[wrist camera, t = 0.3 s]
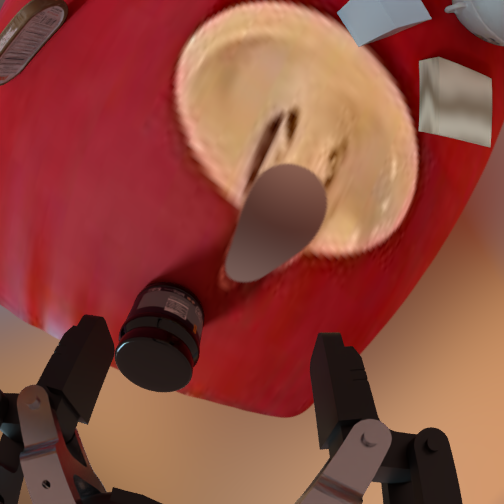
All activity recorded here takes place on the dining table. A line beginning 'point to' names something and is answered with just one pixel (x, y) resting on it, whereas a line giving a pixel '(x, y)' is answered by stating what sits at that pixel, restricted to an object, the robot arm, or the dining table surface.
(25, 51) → the tin
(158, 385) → the supplement container
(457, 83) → the birch block
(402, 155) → the dining table surface
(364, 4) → the pale blue tall cuboid
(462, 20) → the teacup
